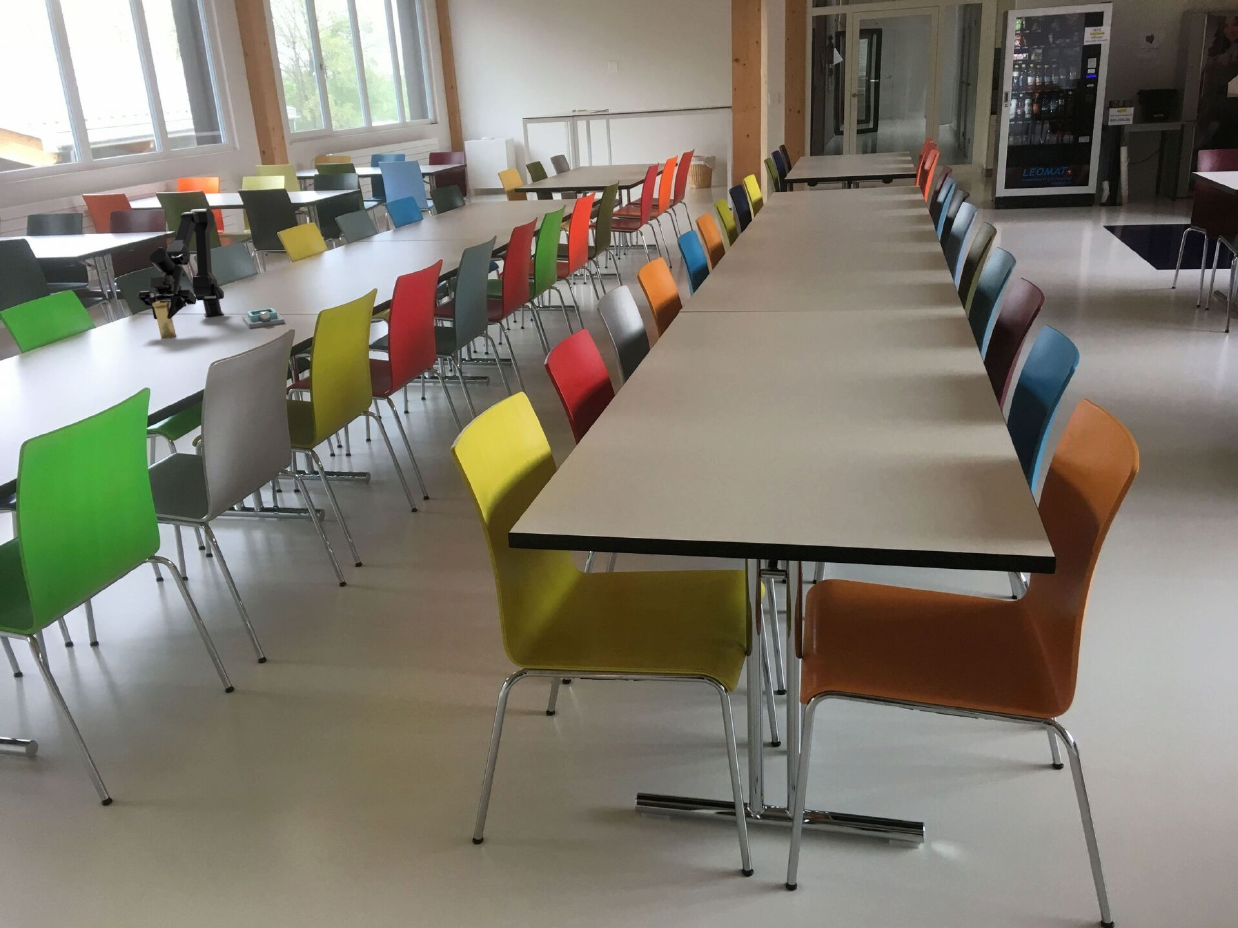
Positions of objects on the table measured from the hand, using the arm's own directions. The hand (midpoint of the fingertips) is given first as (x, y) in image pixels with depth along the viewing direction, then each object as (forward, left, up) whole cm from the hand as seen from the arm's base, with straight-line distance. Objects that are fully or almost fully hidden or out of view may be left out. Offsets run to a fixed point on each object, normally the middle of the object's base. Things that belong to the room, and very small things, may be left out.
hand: (162, 318), depth 330 cm
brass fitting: (-1, +1, -7) cm, 7 cm away
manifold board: (-2, +33, -7) cm, 34 cm away
